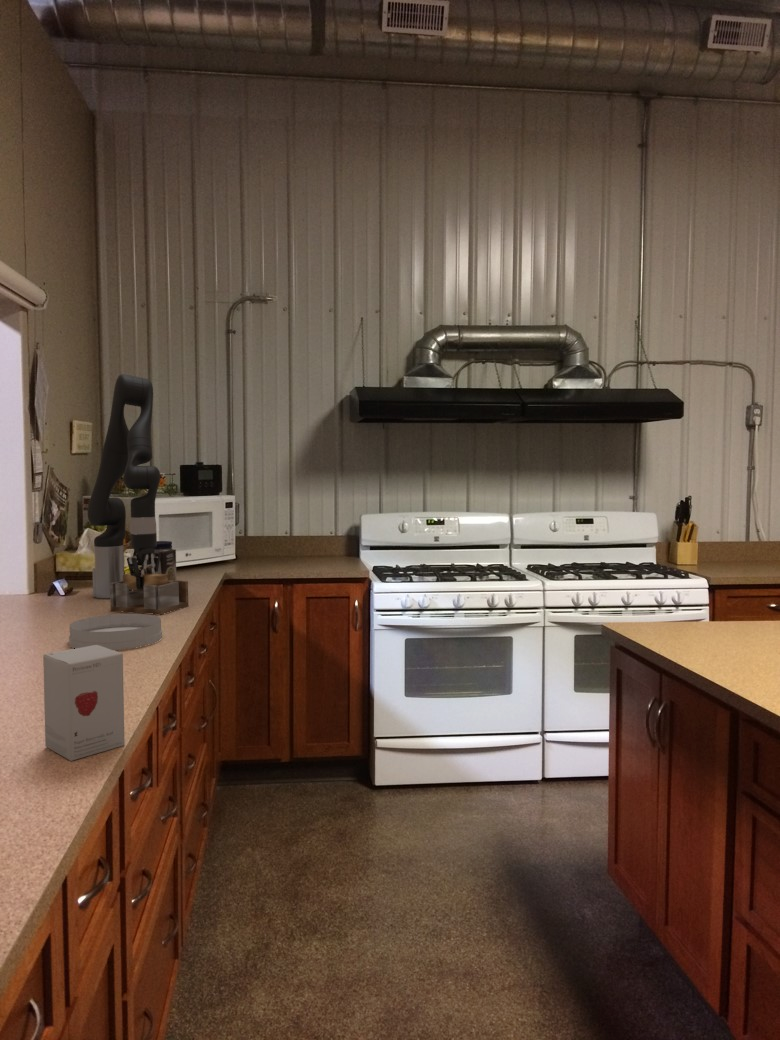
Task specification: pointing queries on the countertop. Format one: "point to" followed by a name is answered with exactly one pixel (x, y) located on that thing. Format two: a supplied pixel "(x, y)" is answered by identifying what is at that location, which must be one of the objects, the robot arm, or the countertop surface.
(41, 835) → the countertop surface
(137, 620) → the dish
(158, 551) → the coffee box
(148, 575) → the rail
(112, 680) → the supplement box
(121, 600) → the bracket board
